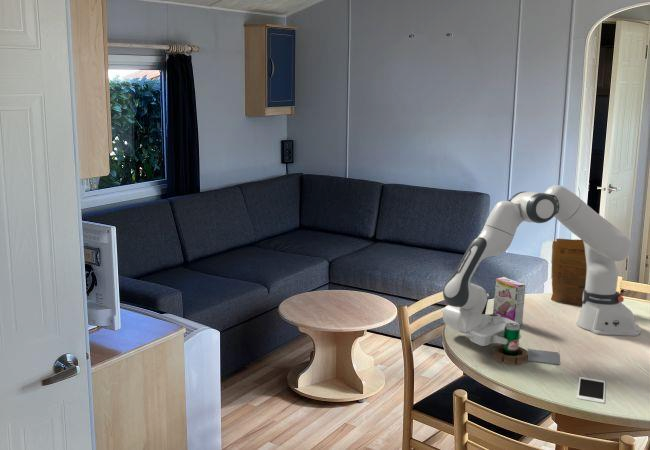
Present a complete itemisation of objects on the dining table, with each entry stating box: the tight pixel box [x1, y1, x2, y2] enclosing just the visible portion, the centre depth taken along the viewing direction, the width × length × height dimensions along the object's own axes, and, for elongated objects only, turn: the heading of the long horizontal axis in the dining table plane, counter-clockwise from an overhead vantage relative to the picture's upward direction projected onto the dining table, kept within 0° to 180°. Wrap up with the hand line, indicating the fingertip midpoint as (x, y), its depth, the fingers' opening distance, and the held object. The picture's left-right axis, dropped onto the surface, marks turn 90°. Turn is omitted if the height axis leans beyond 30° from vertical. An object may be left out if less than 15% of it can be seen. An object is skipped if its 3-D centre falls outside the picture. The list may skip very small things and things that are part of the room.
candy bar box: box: [492, 276, 526, 326], centre depth 277 cm, size 11×5×16 cm, turn 34°
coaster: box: [527, 348, 560, 366], centre depth 246 cm, size 10×10×1 cm
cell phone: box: [576, 376, 606, 404], centre depth 223 cm, size 8×16×1 cm, turn 159°
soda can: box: [502, 323, 521, 356], centre depth 244 cm, size 5×5×12 cm
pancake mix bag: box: [550, 238, 587, 307], centre depth 297 cm, size 7×19×28 cm, turn 68°
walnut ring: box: [492, 344, 528, 366], centre depth 245 cm, size 11×11×2 cm
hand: (513, 339), depth 243 cm, fingers closed on soda can, 5 cm apart
